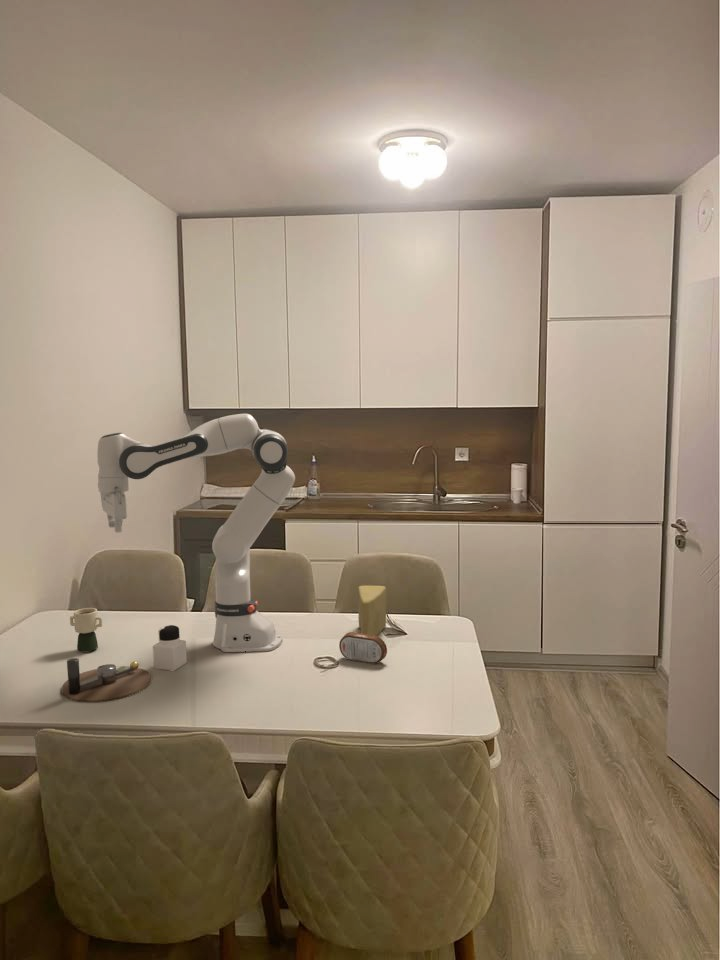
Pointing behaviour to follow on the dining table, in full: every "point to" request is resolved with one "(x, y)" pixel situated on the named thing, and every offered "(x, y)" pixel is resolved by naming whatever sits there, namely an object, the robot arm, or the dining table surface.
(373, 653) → the tin
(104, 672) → the crank lever
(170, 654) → the medicine bottle
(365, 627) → the cheese
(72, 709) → the dining table surface
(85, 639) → the character mug
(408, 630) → the dining table surface
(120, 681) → the stand
